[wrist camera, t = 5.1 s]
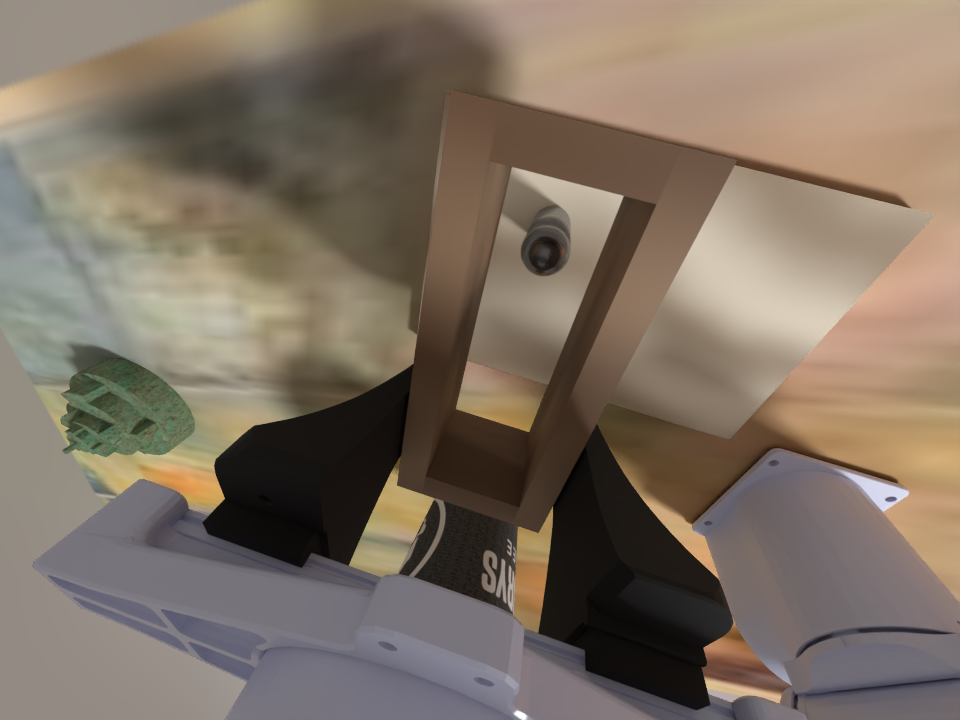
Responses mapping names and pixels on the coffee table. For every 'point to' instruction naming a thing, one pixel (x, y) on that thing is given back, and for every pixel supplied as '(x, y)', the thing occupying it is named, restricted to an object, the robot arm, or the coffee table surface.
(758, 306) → the birch board
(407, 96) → the coffee table surface
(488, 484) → the walnut link
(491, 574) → the coffee cup
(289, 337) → the coffee table surface
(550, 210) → the peg
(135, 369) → the decorative artifact
